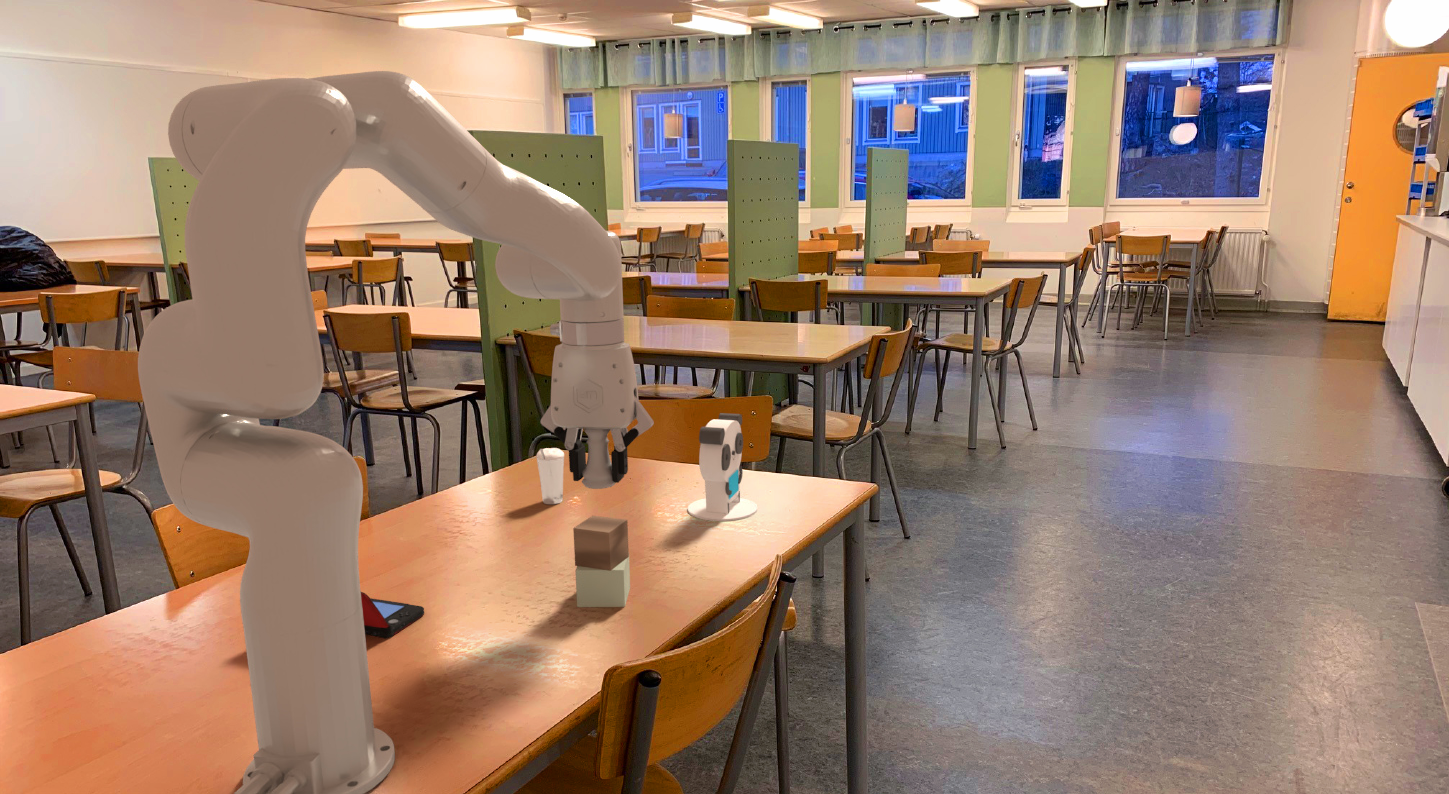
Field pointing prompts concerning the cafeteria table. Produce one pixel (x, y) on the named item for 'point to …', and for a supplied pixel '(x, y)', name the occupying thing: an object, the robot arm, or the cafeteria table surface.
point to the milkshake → (551, 474)
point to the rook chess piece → (597, 460)
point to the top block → (601, 542)
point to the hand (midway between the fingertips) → (599, 477)
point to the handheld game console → (387, 616)
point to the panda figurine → (722, 471)
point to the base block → (603, 586)
